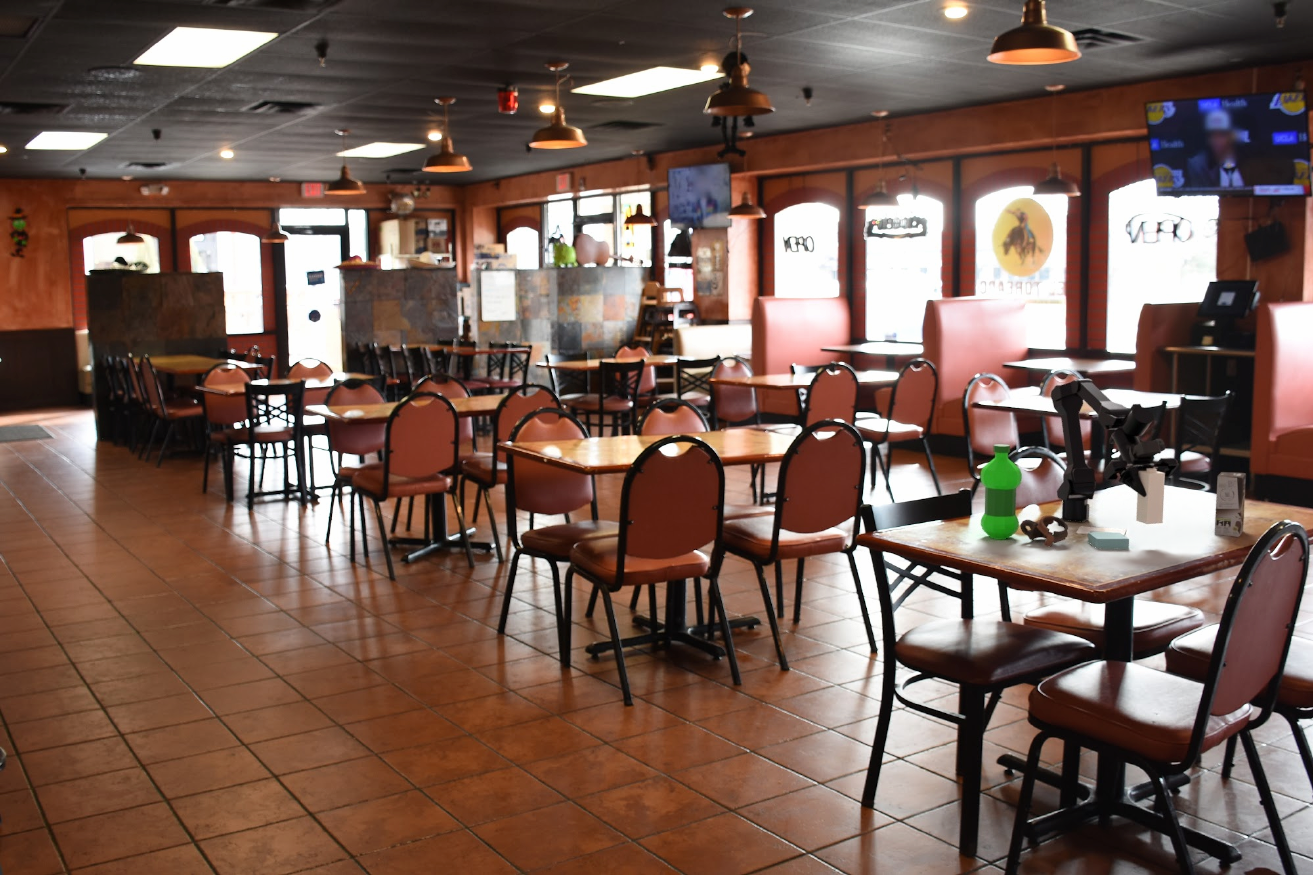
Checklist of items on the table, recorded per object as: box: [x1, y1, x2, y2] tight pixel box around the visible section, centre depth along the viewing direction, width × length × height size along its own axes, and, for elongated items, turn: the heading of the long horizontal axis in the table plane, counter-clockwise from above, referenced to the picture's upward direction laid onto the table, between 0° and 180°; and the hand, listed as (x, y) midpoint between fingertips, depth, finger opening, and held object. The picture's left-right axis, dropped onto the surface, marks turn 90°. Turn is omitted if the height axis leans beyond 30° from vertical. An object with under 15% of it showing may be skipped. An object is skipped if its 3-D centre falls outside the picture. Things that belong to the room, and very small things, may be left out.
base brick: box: [1087, 533, 1130, 550], centre depth 308 cm, size 8×8×3 cm
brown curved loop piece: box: [1019, 515, 1069, 547], centre depth 312 cm, size 12×10×8 cm
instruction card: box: [1076, 525, 1127, 536], centre depth 324 cm, size 12×9×1 cm
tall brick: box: [1135, 468, 1166, 525], centre depth 305 cm, size 4×4×14 cm
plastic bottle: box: [980, 443, 1023, 540], centre depth 318 cm, size 10×10×25 cm
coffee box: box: [1214, 471, 1247, 538], centre depth 320 cm, size 9×6×16 cm
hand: (1153, 495), depth 304 cm, fingers closed on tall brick, 4 cm apart
